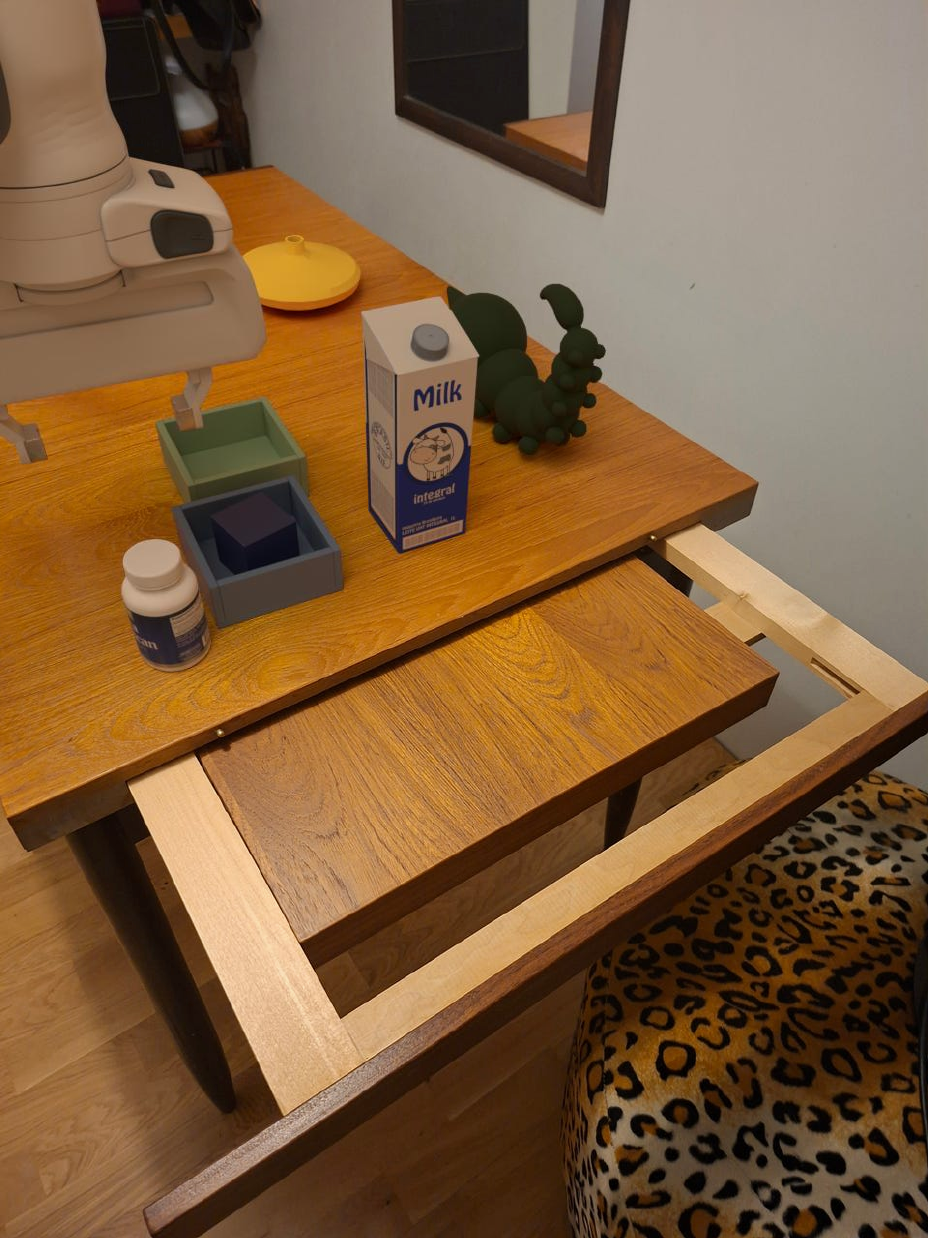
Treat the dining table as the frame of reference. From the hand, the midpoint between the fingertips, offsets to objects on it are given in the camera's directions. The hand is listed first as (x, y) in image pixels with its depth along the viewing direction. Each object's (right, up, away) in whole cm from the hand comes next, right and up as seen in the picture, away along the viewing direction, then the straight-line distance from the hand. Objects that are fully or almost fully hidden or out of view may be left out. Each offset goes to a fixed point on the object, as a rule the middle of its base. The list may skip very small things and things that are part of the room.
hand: (114, 440), depth 54 cm
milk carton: (+18, -2, +26) cm, 32 cm away
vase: (+1, +30, +56) cm, 63 cm away
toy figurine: (+26, +11, +39) cm, 48 cm away
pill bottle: (-1, -14, +14) cm, 20 cm away
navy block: (+4, -6, +20) cm, 22 cm away
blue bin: (+4, -7, +21) cm, 22 cm away
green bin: (0, +2, +29) cm, 29 cm away
